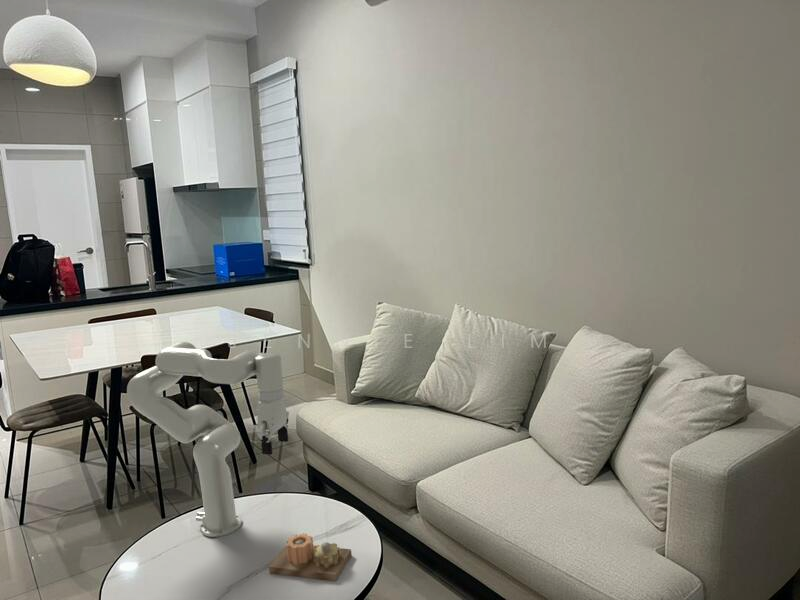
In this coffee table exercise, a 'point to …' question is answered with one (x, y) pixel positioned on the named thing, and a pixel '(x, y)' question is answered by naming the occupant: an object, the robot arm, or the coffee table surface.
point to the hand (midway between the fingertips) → (275, 447)
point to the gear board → (314, 563)
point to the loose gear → (299, 549)
